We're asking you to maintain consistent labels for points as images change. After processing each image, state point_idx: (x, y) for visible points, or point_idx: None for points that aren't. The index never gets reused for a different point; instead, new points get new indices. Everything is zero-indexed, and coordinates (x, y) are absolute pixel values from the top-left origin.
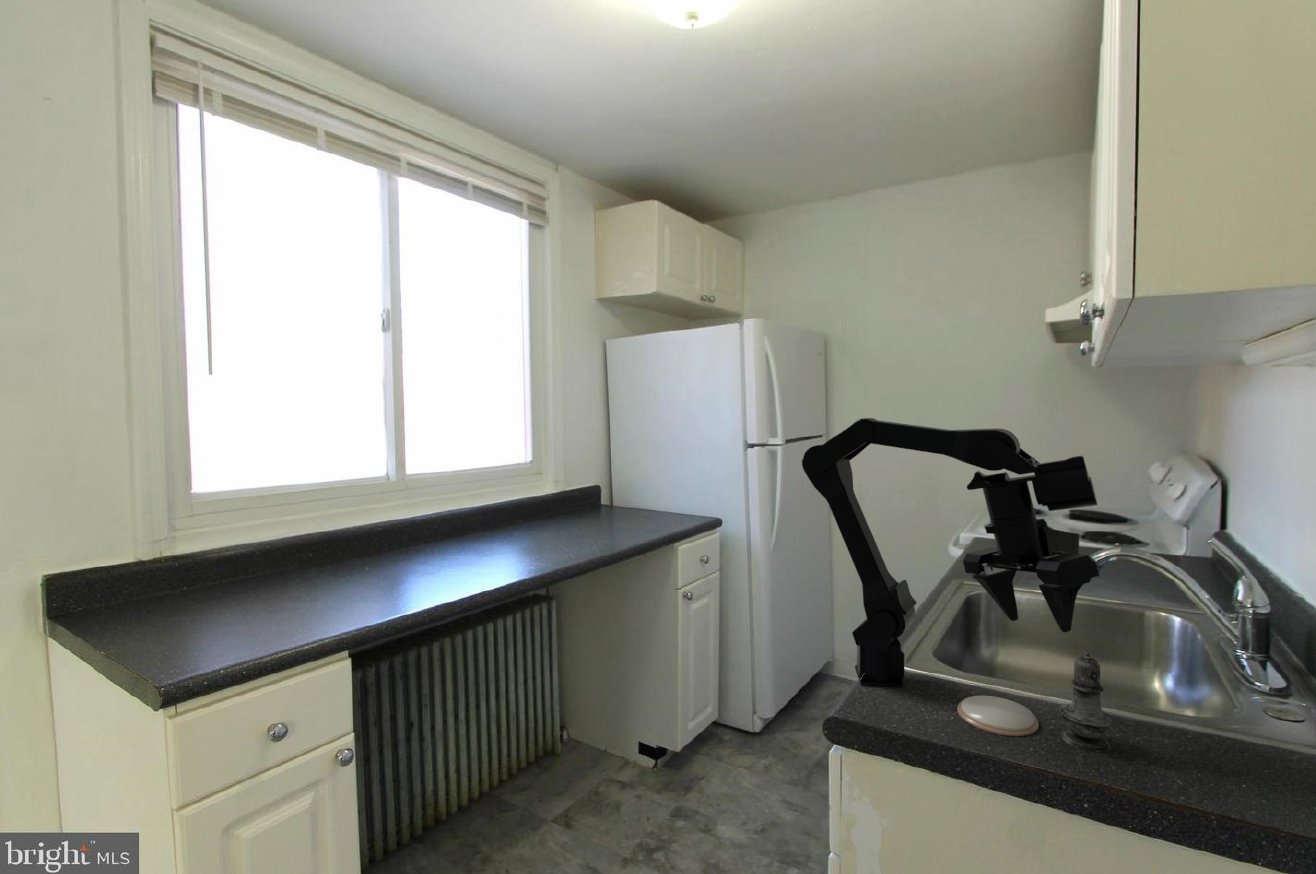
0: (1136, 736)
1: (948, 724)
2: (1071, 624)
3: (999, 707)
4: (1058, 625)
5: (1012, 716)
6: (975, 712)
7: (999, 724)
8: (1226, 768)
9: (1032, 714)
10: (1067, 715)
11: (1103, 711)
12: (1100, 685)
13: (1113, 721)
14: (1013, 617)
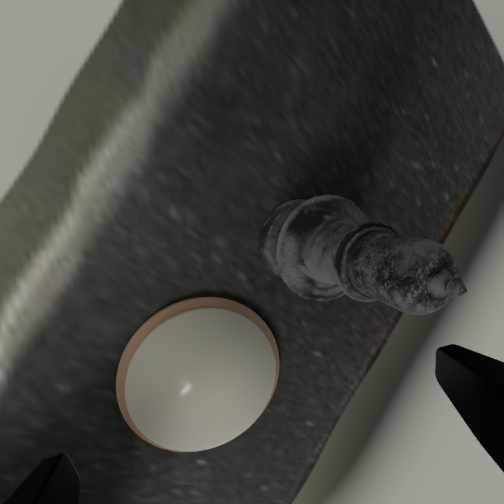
0: (285, 117)
1: (229, 473)
2: (487, 357)
3: (190, 371)
4: (466, 419)
5: (233, 359)
6: (215, 430)
7: (266, 397)
8: (394, 39)
9: (224, 311)
10: (333, 296)
11: (319, 199)
12: (377, 223)
13: (359, 208)
14: (68, 490)
